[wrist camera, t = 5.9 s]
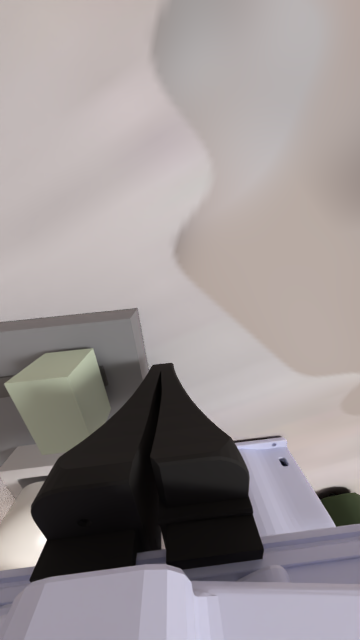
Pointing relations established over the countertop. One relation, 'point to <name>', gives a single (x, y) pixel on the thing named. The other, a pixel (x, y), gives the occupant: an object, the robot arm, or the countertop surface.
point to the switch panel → (56, 336)
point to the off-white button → (21, 532)
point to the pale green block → (60, 399)
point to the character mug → (343, 508)
